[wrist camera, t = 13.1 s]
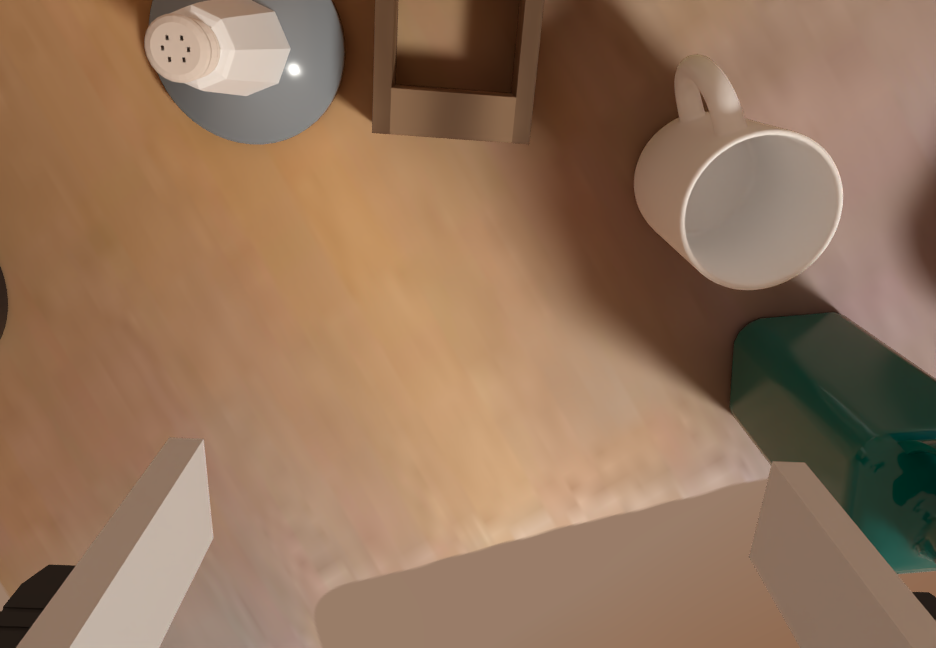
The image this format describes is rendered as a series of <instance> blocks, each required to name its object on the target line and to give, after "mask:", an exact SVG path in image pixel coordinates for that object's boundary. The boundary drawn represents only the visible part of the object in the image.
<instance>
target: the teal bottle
mask: <svg viewBox="0 0 936 648" xmlns="http://www.w3.org/2000/svg"><path fill="white" fill-rule="evenodd" d="M730 409H731V412H732V414H733V416H734V418H735V419H736V420H737V422H738V423H739V424H740V426H741V427H742V428H743V430H744V431H745V432H746V433H747V435H748V436H749V437H750V439H751V440H752V441H753V443H754V444H755V445H756V447H757V448H758V449H759V451H760V452H761V453H762V454H763V456H764V457H765V458H766V460H767V461H768V462H769V464H770V465H772V461H777V462H803V463H806V465H807V466H808V467H809V468H810V469H811V471H812V472H813V473H814V474H815V475H816V477H817V478H818V479H819V480H820V482H821V483H822V484H823V485H824V486H825V488H826V489H827V490H828V491H829V492H830V494H831V495H832V496H833V497H834V498H835V500H836V501H837V502H838V503H839V505H840V506H841V507H842V508H843V509H844V511H845V512H846V513H847V514H848V515H849V517H850V518H851V519H852V520H853V522H854V523H855V524H856V525H857V526H858V528H859V529H860V530H861V531H862V532H863V534H864V535H865V536H866V537H867V538H868V540H869V541H870V542H871V543H872V545H873V546H874V547H875V548H876V549H877V551H878V552H879V553H880V554H881V555H882V557H883V558H884V559H885V560H886V561H887V563H888V564H889V565H890V566H891V568H892V569H893V570H894V571H895V572H896V574H903V573H917V572H929V571H936V379H935V378H934V377H932V376H931V375H930V374H928V373H927V372H925V371H924V370H922V369H921V368H919V367H918V366H917V365H915V364H914V363H912V362H911V361H909V360H908V359H906V358H905V357H904V356H902V355H901V354H899V353H898V352H896V351H895V350H893V349H892V348H891V347H889V346H888V345H886V344H885V343H883V342H882V341H880V340H879V339H878V338H876V337H875V336H873V335H872V334H870V333H869V332H867V331H866V330H865V329H863V328H862V327H860V326H859V325H857V324H856V323H854V322H853V321H852V320H850V319H849V318H847V317H846V316H844V315H841V314H838V313H835V312H830V313H818V314H806V315H795V316H783V317H771V318H759V319H757V320H755V321H753V322H750V323H748V324H747V325H746V326H745V327H744V328H743V329H742V330H741V331H740V332H739V333H738V335H737V337H736V339H735V341H734V350H733V364H732V379H731V394H730Z"/></svg>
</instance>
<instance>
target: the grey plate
mask: <svg viewBox="0 0 936 648" xmlns="http://www.w3.org/2000/svg"><path fill="white" fill-rule="evenodd" d="M203 1H208V0H153V2H152V6H151V10H150V18H149V25H150V24H151V22H153V21H154V20H155V19H156V18H157V17H159V16H162V15H164V14H169V13H172V12H174V11H177V10H179V9H181V8H184V7H186V6H189V5H192V4H195V3H198V2H203ZM252 1H254V2H256V3H258V4H260V5H262V6H264V7H266V8H269V9H271V10H273V11H275V13H276V16H277V18H278V20H279V23H280V25H281V27H282V30H283V32H284V34H285V37H286V39H287V41H288V44H289V46H290V48H291V49H290V52H289V55H288V58H287V61H286V64H285V67H284V69H283V72H282V75H281V78H280V81H279V83H278V84H276V85H273V86H271V87H268V88H266V89H263V90H261V91H258V92H256V93H253V94H251V95H248V96H241V95H232V94H224V93H216V92H207V91H202V90H199V89H196V88H194V87H192V86H189V85H187V84H185V83H178V82H172V81H170V80H168V79H166V78H164V77H163V76H161V75H160V74H159V73H158V75H159V77H160V80H161V81H162V83H163V85H164V87H165V89H166V91H167V92H168V93H169V95H170V96H171V98H172V99H173V101H174V102H175V103H176V104H177V105H178V107H179V108H180V109H181V110H182V111H183V112H184V113H185V114H186V115H187V116H188V117H189V118H191V119H192V120H193V121H194V122H196V123H197V124H198V125H200V126H201V127H202V128H204V129H206V130H208V131H209V132H211V133H213V134H215V135H217V136H220V137H222V138H225V139H227V140H231V141H235V142H238V143H246V144H269V143H275V142H279V141H283V140H286V139H288V138H291V137H293V136H295V135H297V134H299V133H301V132H302V131H304V130H306V129H307V128H309V127H310V126H311V125H313V124H314V123H315V122H316V121H317V120H319V118H320V117H321V116H322V115H323V114H324V113H325V112H326V111H327V109H328V108H329V106H330V105H331V103H332V102H333V100H334V98H335V96H336V94H337V92H338V90H339V87H340V84H341V81H342V77H343V72H344V67H345V55H346V53H345V38H344V33H343V27H342V24H341V21H340V17H339V14H338V12H337V9H336V7H335V5H334V3H333V1H332V0H252Z"/></svg>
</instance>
